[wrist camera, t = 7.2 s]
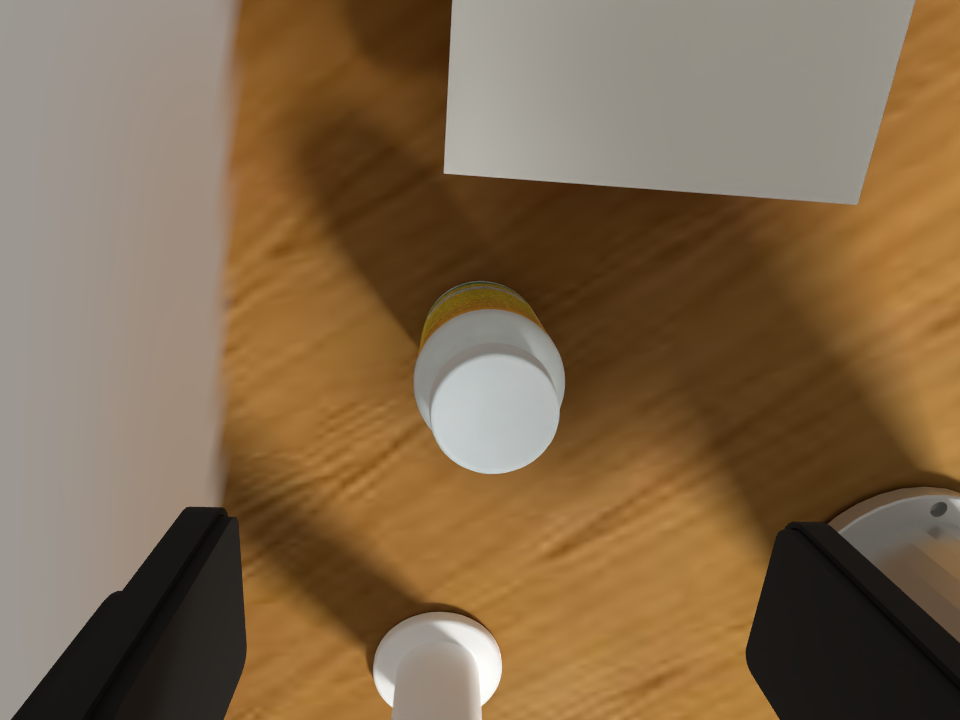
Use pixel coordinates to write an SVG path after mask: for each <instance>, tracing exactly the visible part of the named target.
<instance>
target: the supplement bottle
mask: <svg viewBox="0 0 960 720" xmlns="http://www.w3.org/2000/svg"><path fill="white" fill-rule="evenodd" d="M564 391H565V373H564V367H563V363H562V360H561V357H560V354H559V352H558V350H557V348H556V346H555V345H554V343H553V341H552V340H551V338H550V337H549V335H548V334H547V332H546V331H545V329H544V328H543V326H542V324H541V323H540V321H539V319H538V318H537V316H536V315H535V313H534V311H533V310H532V308H531V307H530V305H529V304H528V303H527V301H526V300H525V299H524V298H523V297H521V296H520V295H519V294H518V293H517V292H515V291H514V290H512V289H510V288H508V287H506V286H504V285H501V284H498V283H494V282H488V281H472V282H467V283H463V284H461V285H458V286H456V287H454V288H452V289H450V290H448V291H447V292H445V293H444V294H443V295H442V296H441V297H439V298H438V300H437V301H436V302H435V303H434V305H433V306H432V308H431V309H430V311H429V313H428V315H427V318H426V321H425V324H424V327H423V331H422V336H421V341H420V346H419V352H418V356H417V360H416V363H415V370H414V394H415V400H416V403H417V406H418V409H419V411H420V414H421V416H422V418H423V419H424V421H425V422H426V424H427V425H428V427H429V428H430V429H431V430H432V432H433V435H434V438H435V440H436V441H437V443H438V445H439V447H440V448H441V449H442V451H443V452H444V453H445V454H446V455H447V456H448V457H449V458H450V459H451V460H453V461H454V462H455V463H457V464H458V465H460V466H462V467H464V468H467V469H469V470H472V471H475V472H479V473H485V474H500V473H506V472H510V471H514V470H517V469H519V468H522V467H524V466H526V465H528V464H530V463H531V462H533V461H534V460H535V459H536V458H538V457H539V456H540V455H541V454H542V453H543V452H544V451H545V450H546V448H547V447H548V446H549V444H550V443H551V441H552V439H553V438H554V435H555V433H556V430H557V427H558V423H559V416H560V407H561V404H562V401H563V397H564Z"/></svg>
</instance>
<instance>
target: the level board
mask: <svg viewBox="0 0 960 720" xmlns="http://www.w3.org/2000/svg"><path fill="white" fill-rule="evenodd" d="M914 4H915V0H452V16H451V36H450V57H449V77H448V97H447V117H446V137H445V157H444V174H457V175H470V176H483V177H496V178H510V179H523V180H536V181H549V182H562V183H576V184H589V185H602V186H615V187H628V188H642V189H655V190H668V191H681V192H694V193H708V194H721V195H734V196H747V197H760V198H774V199H787V200H800V201H813V202H826V203H840V204H853V205H858V201H859V198H860V194H861V191H862V187H863V184H864V180H865V176H866V173H867V169H868V166H869V162H870V159H871V155H872V152H873V148H874V145H875V141H876V138H877V134H878V131H879V127H880V124H881V120H882V116H883V113H884V109H885V106H886V102H887V99H888V95H889V92H890V88H891V85H892V81H893V78H894V74H895V71H896V67H897V64H898V60H899V57H900V53H901V49H902V46H903V42H904V39H905V35H906V32H907V28H908V25H909V21H910V18H911V14H912V11H913V7H914Z"/></svg>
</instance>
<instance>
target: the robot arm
mask: <svg viewBox="0 0 960 720" xmlns="http://www.w3.org/2000/svg"><path fill="white" fill-rule="evenodd" d="M246 650H247V644H246V629H245V614H244V599H243V584H242V569H241V554H240V539H239V525H238V520H237V518H236V517H228V515H227V512H226V509H224V508H220V507H186V508H185V509H184V510H183V511H182V512H181V514H180V515H179V516H178V518H177V519H176V520H175V522H174V523H173V524H172V526H171V527H170V528H169V530H168V531H167V532H166V534H165V535H164V536H163V538H162V539H161V540H160V542H159V543H158V544H157V546H156V547H155V548H154V549H153V551H152V552H151V553H150V555H149V556H148V557H147V559H146V560H145V561H144V563H143V564H142V565H141V567H140V568H139V569H138V571H137V572H136V573H135V575H134V576H133V577H132V579H131V580H130V581H129V583H128V584H127V585H126V587H125V588H124V589H123V591H117V592H114V593H112V594H111V595H109V597H108V598H106V600H104V602H103V603H102V604H101V605H100V607H99V608H98V609H97V610H96V612H95V613H94V614H93V616H92V617H91V618H90V619H89V621H88V622H87V623H86V625H85V626H84V627H83V628H82V630H81V631H80V632H79V633H78V635H77V636H76V637H75V638H74V640H73V641H72V642H71V644H70V645H69V646H68V647H67V649H66V650H65V651H64V653H63V654H62V655H61V656H60V658H59V659H58V660H57V662H56V663H55V664H54V665H53V667H52V668H51V669H50V671H49V672H48V673H47V675H46V676H45V677H44V678H43V679H42V681H41V682H40V683H39V685H38V686H37V687H36V688H35V690H34V691H33V692H32V694H31V695H30V696H29V698H28V699H27V700H26V701H25V702H24V704H23V705H22V707H21V708H20V709H19V710H18V712H17V713H16V714H15V715H14V717H13V718H12V719H11V720H223V719H224V717H225V714H226V712H227V709H228V707H229V704H230V702H231V699H232V697H233V694H234V692H235V689H236V687H237V684H238V681H239V679H240V676H241V674H242V671H243V668H244V664H245V659H246ZM746 660H747V665H748V668H749V670H750V672H751V674H752V675H753V677H754V679H755V680H756V682H757V684H758V685H759V687H760V688H761V690H762V692H763V693H764V695H765V696H766V698H767V700H768V701H769V703H770V704H771V706H772V708H773V709H774V711H775V712H776V714H777V716H778V717H779V719H780V720H960V493H959V492H956V491H953V490H949V489H946V488H935V487H914V488H903V489H898V490H895V491H891V492H887V493H883V494H879V495H877V496H874V497H872V498H870V499H867V500H865V501H863V502H860V503H858V504H856V505H854V506H853V507H851V508H849V509H848V510H846V511H845V512H843V513H841V514H840V515H838V516H836V517H835V518H834V519H833V520H832V521H831V522H829V523H828V524H827V523H822V522H791V523H789V524H788V525H787V526H786V527H785V530H781V531H780V532H779V533H778V534H777V536H776V540H775V543H774V547H773V551H772V554H771V558H770V562H769V565H768V569H767V573H766V577H765V580H764V584H763V588H762V591H761V595H760V599H759V602H758V606H757V610H756V614H755V617H754V621H753V625H752V628H751V632H750V636H749V639H748V643H747V647H746Z"/></svg>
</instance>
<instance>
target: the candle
mask: <svg viewBox="0 0 960 720" xmlns="http://www.w3.org/2000/svg"><path fill="white" fill-rule="evenodd" d="M501 673H502V661H501V654H500V650H499V647H498V645H497V642H496V641H495V639H494V637H493V636H492V635H491V633H490V632H489V631H488V630H487V629H486V628H485V627H483V626H482V625H481V624H479V623H478V622H476V621H474V620H473V619H470V618H468V617H466V616H463V615H460V614H455V613H450V612H430V613H424V614H419V615H416V616H413V617H410V618H408V619H406V620H404V621H402V622H401V623H399V624H397V625H396V626H395V627H393V628H392V629H391V630H390V631H389V632H388V633H387V634H386V635H385V636H384V638H383V639H382V640H381V642H380V644H379V646H378V648H377V650H376V654H375V658H374V664H373V677H374V682H375V685H376V688H377V690H378V692H379V693H380V695H381V696H382V698H383V699H384V700H385V701H386V702H387V703H388V704H389V705H390V706H391V707H392V708H393V709H392V718H391V720H482V713H481V706H482V705H483V704H484V703H486V702H487V701H488V700H489V698H490V697H491V696H492V695H493V693H494V692H495V690H496V688H497V686H498V684H499V682H500V678H501Z"/></svg>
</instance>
